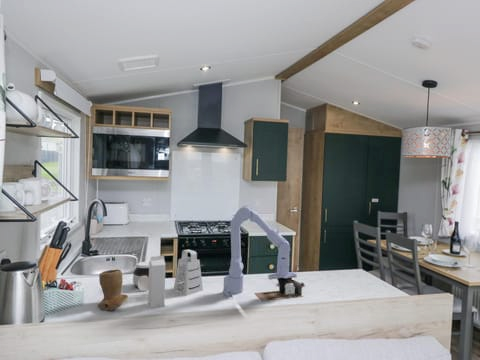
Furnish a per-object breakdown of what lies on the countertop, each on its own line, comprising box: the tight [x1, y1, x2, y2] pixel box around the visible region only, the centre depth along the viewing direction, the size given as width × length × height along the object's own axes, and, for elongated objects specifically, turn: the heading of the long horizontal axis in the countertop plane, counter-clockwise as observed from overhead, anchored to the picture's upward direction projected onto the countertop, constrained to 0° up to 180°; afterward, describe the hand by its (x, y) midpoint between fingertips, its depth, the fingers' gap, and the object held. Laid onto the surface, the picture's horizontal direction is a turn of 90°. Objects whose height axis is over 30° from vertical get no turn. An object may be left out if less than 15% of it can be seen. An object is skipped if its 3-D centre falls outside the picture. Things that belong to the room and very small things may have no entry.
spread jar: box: [132, 261, 150, 292], centre depth 167 cm, size 12×11×12 cm
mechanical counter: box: [286, 278, 305, 288], centre depth 177 cm, size 7×13×10 cm
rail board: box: [254, 280, 304, 302], centre depth 161 cm, size 22×10×6 cm, turn 109°
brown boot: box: [97, 268, 129, 312], centre depth 145 cm, size 15×12×15 cm
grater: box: [173, 248, 204, 296], centre depth 166 cm, size 10×10×20 cm
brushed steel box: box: [282, 283, 297, 296], centre depth 162 cm, size 7×7×4 cm
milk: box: [147, 255, 166, 309], centre depth 147 cm, size 6×6×22 cm
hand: (281, 292), depth 161 cm, fingers closed, pressing on brushed steel box
